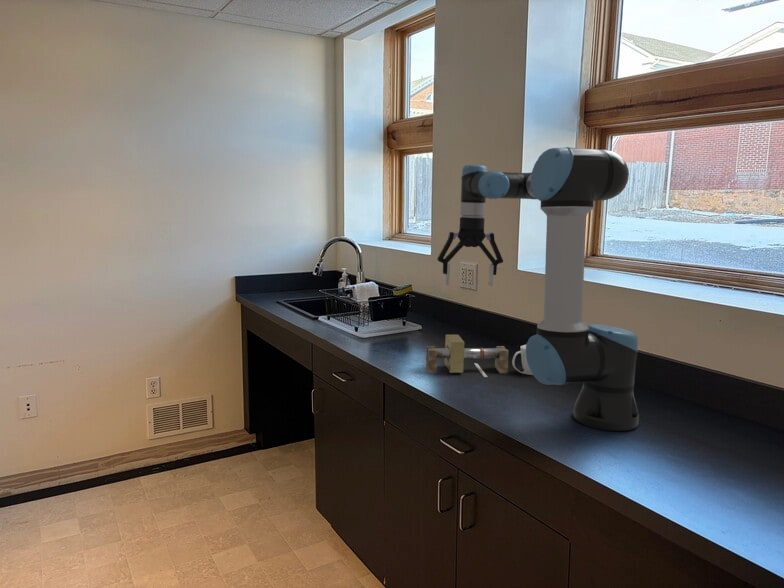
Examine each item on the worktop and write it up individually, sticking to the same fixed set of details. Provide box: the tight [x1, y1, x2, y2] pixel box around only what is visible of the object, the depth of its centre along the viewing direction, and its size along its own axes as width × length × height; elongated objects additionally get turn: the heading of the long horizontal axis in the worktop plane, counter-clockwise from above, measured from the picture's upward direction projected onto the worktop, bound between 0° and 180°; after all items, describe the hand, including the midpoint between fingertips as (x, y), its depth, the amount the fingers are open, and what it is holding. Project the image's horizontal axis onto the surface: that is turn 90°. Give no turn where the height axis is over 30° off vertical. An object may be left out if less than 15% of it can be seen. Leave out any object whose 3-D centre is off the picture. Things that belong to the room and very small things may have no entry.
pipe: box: [428, 347, 507, 360], centre depth 185 cm, size 24×3×3 cm, turn 95°
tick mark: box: [473, 362, 488, 378], centre depth 186 cm, size 1×14×1 cm, turn 5°
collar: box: [444, 334, 465, 374], centre depth 184 cm, size 4×9×9 cm, turn 5°
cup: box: [511, 344, 534, 376], centre depth 184 cm, size 7×10×8 cm
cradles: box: [425, 345, 509, 375], centre depth 185 cm, size 24×6×7 cm, turn 95°
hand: (468, 285), depth 188 cm, fingers open, 13 cm apart
